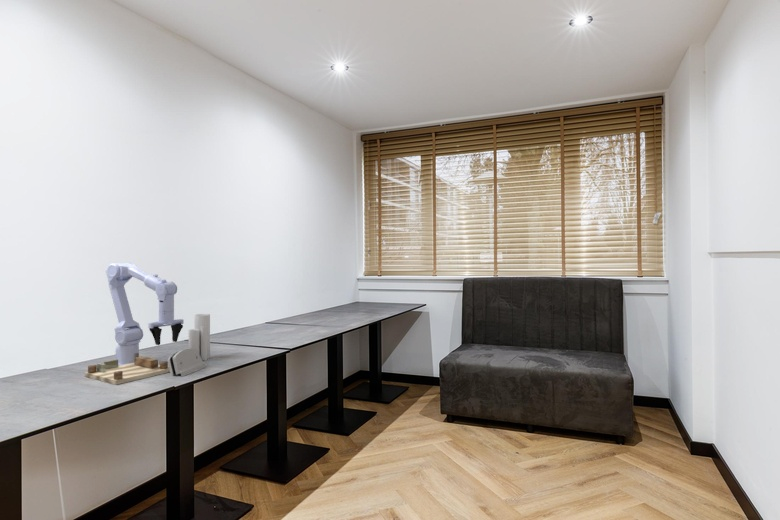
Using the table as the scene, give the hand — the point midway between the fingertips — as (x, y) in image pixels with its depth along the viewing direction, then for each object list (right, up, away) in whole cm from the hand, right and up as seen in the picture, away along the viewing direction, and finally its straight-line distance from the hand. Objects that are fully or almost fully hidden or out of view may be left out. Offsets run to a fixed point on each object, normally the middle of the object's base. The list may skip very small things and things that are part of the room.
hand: (166, 343), depth 190 cm
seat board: (-10, -10, -10) cm, 18 cm away
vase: (+8, -10, +15) cm, 20 cm away
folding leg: (-6, -9, -4) cm, 11 cm away
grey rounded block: (+11, -11, -5) cm, 16 cm away
